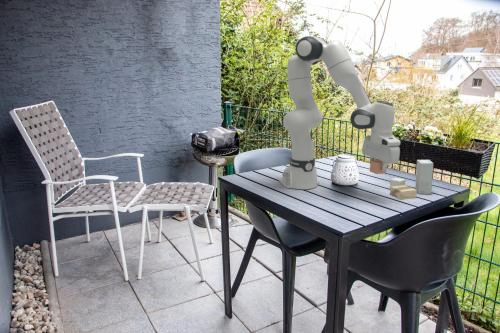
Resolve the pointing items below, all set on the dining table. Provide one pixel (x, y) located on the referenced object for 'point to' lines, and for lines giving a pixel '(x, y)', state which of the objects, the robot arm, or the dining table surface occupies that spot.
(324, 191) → the dining table surface
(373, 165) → the terracotta cube
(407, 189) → the beech base
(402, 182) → the offwhite cube
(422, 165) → the skincare box
